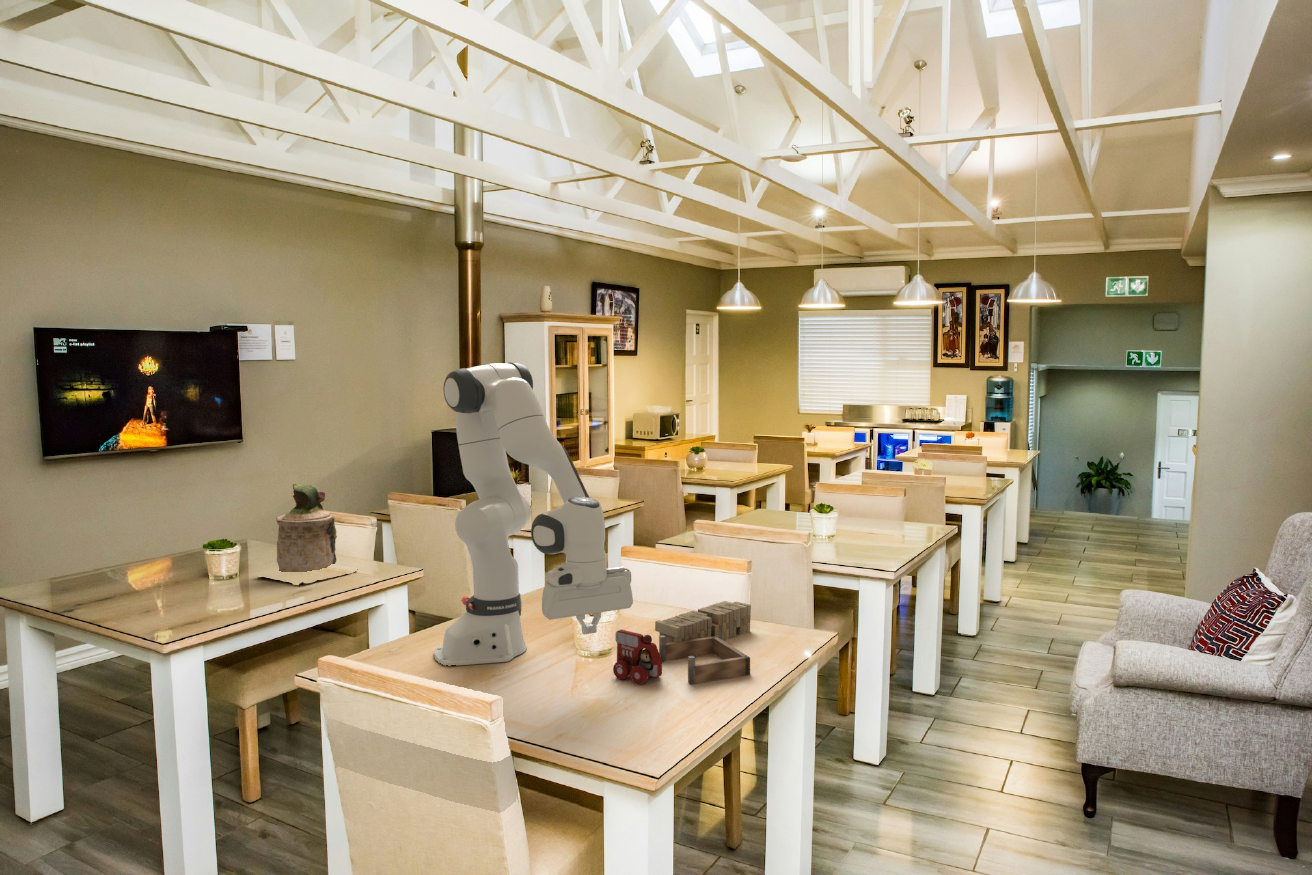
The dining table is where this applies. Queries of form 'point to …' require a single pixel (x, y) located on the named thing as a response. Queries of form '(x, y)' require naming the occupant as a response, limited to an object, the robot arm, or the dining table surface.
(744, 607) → the block tower
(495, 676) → the dining table surface
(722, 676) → the bay
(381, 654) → the dining table surface
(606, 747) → the dining table surface
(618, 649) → the toy fire truck
